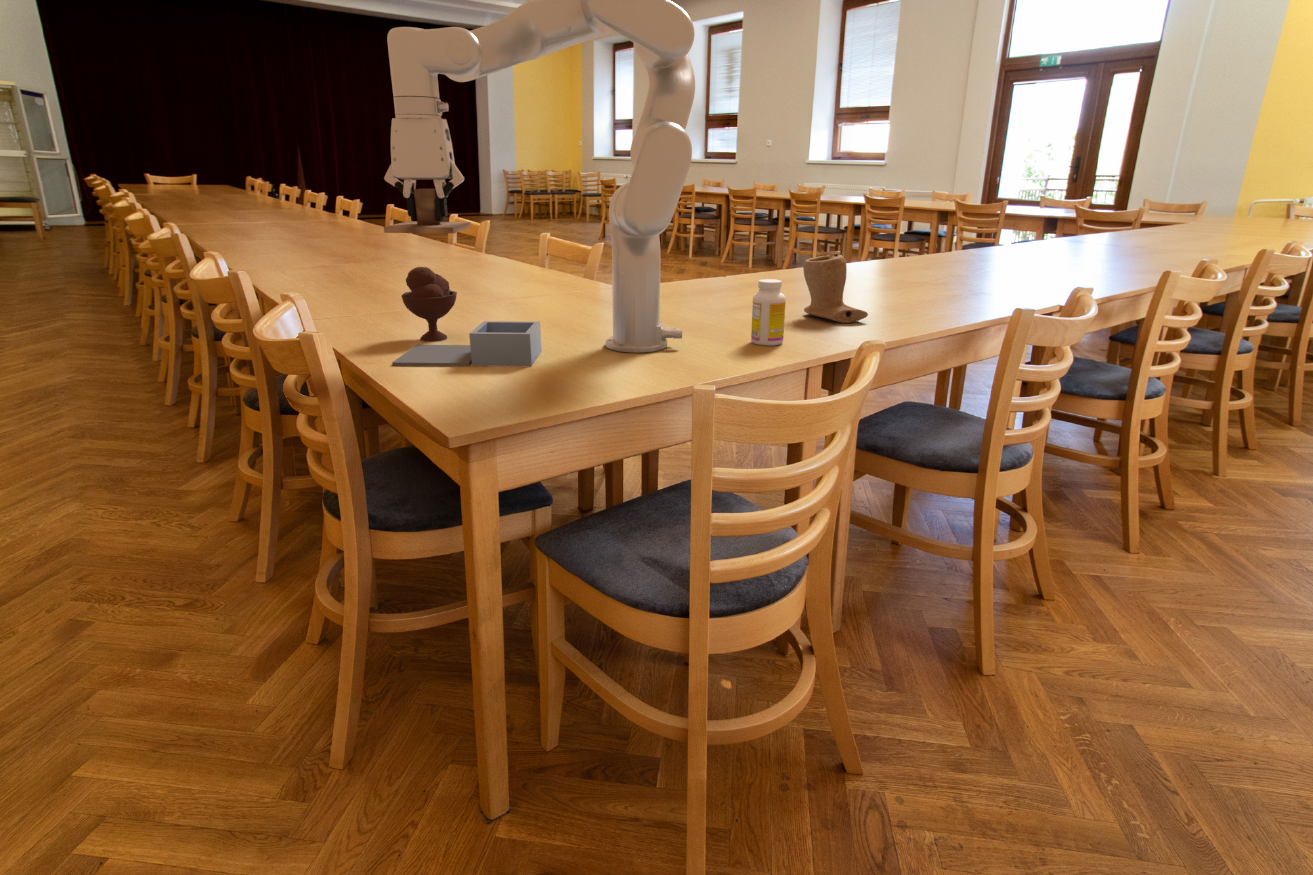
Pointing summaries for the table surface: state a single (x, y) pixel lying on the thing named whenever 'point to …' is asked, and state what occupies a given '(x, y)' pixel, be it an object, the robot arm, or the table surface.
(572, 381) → the table surface
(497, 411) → the table surface
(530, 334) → the open box
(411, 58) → the robot arm
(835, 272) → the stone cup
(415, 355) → the mat
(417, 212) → the lid
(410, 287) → the ice cream bowl
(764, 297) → the supplement bottle
